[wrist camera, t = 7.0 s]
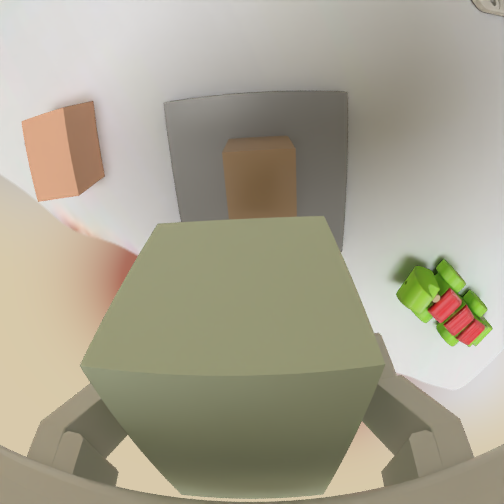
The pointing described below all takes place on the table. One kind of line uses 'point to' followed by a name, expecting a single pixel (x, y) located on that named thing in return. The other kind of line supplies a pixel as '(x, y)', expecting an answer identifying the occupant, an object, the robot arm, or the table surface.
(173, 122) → the base plate
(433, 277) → the toy crocodile
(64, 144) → the terracotta brick
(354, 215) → the table surface
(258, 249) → the sage brick
